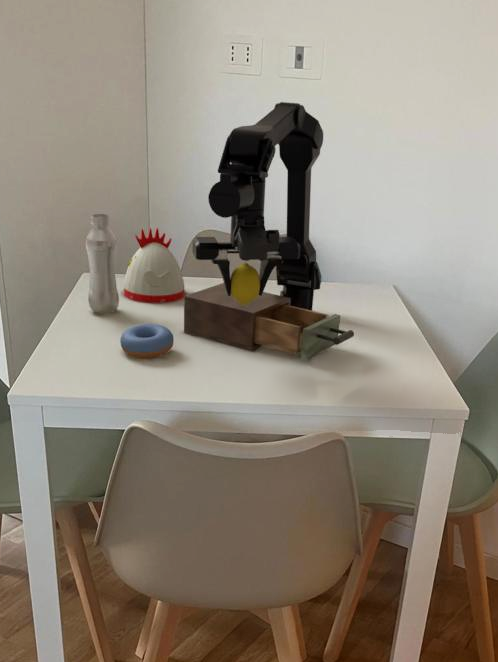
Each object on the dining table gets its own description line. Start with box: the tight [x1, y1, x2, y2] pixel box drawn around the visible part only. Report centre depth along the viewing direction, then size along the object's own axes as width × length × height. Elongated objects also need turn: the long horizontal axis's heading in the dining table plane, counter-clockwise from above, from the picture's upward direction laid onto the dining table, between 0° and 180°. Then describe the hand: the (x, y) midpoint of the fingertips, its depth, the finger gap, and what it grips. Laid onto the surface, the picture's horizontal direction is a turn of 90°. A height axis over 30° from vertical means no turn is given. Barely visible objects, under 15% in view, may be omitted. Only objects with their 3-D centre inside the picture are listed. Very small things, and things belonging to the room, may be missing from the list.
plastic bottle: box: [85, 213, 120, 314], centre depth 168 cm, size 6×7×20 cm
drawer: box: [254, 304, 355, 361], centre depth 155 cm, size 20×12×6 cm, turn 56°
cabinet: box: [183, 282, 291, 352], centre depth 162 cm, size 17×14×8 cm
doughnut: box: [119, 323, 175, 359], centre depth 151 cm, size 10×10×5 cm
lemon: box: [230, 262, 260, 306], centre depth 147 cm, size 6×6×8 cm
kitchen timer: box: [123, 227, 186, 304], centre depth 183 cm, size 14×14×15 cm
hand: (244, 295), depth 148 cm, fingers closed on lemon, 5 cm apart
